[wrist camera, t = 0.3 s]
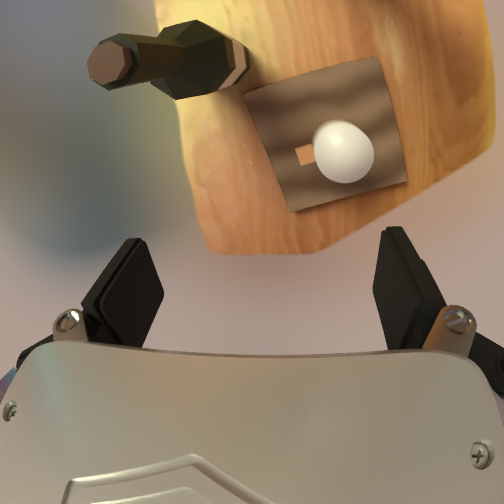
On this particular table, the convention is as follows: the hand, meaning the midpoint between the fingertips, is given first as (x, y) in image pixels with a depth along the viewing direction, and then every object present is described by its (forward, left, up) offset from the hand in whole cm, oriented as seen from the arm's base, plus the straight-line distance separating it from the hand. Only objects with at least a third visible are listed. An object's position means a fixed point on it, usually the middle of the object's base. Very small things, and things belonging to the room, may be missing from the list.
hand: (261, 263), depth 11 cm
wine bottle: (-11, -5, -35) cm, 37 cm away
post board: (+5, +6, -35) cm, 36 cm away
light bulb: (+5, +5, -29) cm, 30 cm away
